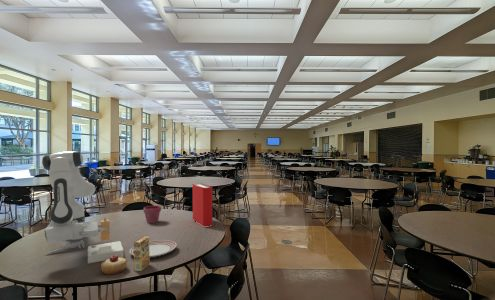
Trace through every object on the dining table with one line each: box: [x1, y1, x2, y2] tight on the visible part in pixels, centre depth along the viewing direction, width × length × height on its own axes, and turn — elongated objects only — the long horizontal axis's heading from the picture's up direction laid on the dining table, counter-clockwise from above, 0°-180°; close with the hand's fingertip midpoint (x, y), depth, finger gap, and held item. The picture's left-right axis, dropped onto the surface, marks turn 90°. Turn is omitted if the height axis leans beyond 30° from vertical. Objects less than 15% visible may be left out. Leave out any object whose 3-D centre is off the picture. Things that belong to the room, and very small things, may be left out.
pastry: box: [100, 255, 128, 275], centre depth 143 cm, size 12×12×9 cm
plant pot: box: [143, 205, 162, 224], centre depth 236 cm, size 14×14×13 cm
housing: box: [87, 240, 124, 264], centre depth 163 cm, size 18×18×5 cm
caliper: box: [44, 238, 85, 256], centre depth 169 cm, size 20×1×6 cm, turn 125°
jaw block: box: [100, 216, 111, 242], centre depth 163 cm, size 4×4×13 cm
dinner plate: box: [128, 239, 178, 259], centre depth 168 cm, size 27×27×3 cm
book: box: [192, 183, 213, 226], centre depth 231 cm, size 27×8×32 cm, turn 30°
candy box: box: [133, 236, 151, 272], centre depth 145 cm, size 9×4×15 cm, turn 171°
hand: (106, 227), depth 164 cm, fingers closed on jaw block, 4 cm apart
